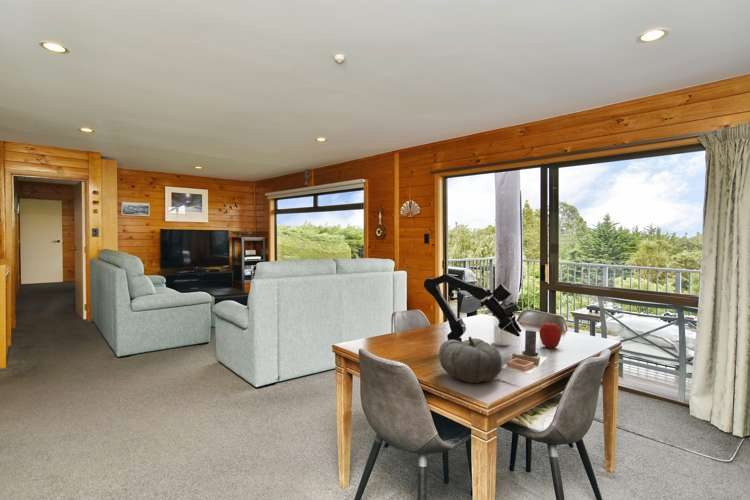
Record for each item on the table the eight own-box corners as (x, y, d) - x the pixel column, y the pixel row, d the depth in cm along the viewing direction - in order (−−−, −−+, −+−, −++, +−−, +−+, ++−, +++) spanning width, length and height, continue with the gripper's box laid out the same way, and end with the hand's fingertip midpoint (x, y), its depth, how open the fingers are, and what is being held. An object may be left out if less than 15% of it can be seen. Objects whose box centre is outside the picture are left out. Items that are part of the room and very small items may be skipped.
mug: (504, 349, 197) (505, 329, 196) (488, 346, 202) (489, 326, 201) (512, 344, 206) (513, 325, 206) (497, 342, 211) (497, 323, 211)
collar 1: (506, 366, 168) (506, 361, 168) (516, 362, 173) (516, 358, 173) (524, 371, 162) (524, 366, 162) (533, 367, 167) (533, 362, 167)
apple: (556, 345, 206) (557, 319, 206) (564, 350, 196) (564, 323, 196) (536, 344, 207) (537, 318, 207) (542, 349, 197) (543, 322, 197)
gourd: (422, 369, 157) (431, 327, 158) (457, 366, 175) (465, 328, 175) (476, 394, 139) (486, 346, 140) (509, 388, 157) (517, 345, 157)
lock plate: (530, 376, 159) (530, 366, 159) (501, 370, 166) (501, 360, 166) (547, 359, 181) (547, 351, 181) (521, 354, 188) (521, 346, 188)
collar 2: (520, 359, 178) (520, 355, 178) (521, 354, 185) (521, 350, 185) (539, 361, 174) (539, 357, 174) (539, 357, 182) (540, 352, 182)
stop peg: (524, 358, 179) (525, 330, 178) (525, 356, 183) (526, 328, 182) (535, 360, 177) (535, 331, 176) (535, 357, 181) (536, 329, 180)
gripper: (506, 299, 175) (532, 326, 170) (510, 294, 192) (534, 319, 187) (487, 315, 178) (513, 342, 174) (493, 309, 195) (516, 333, 191)
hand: (520, 333), depth 181 cm, fingers open, 9 cm apart
